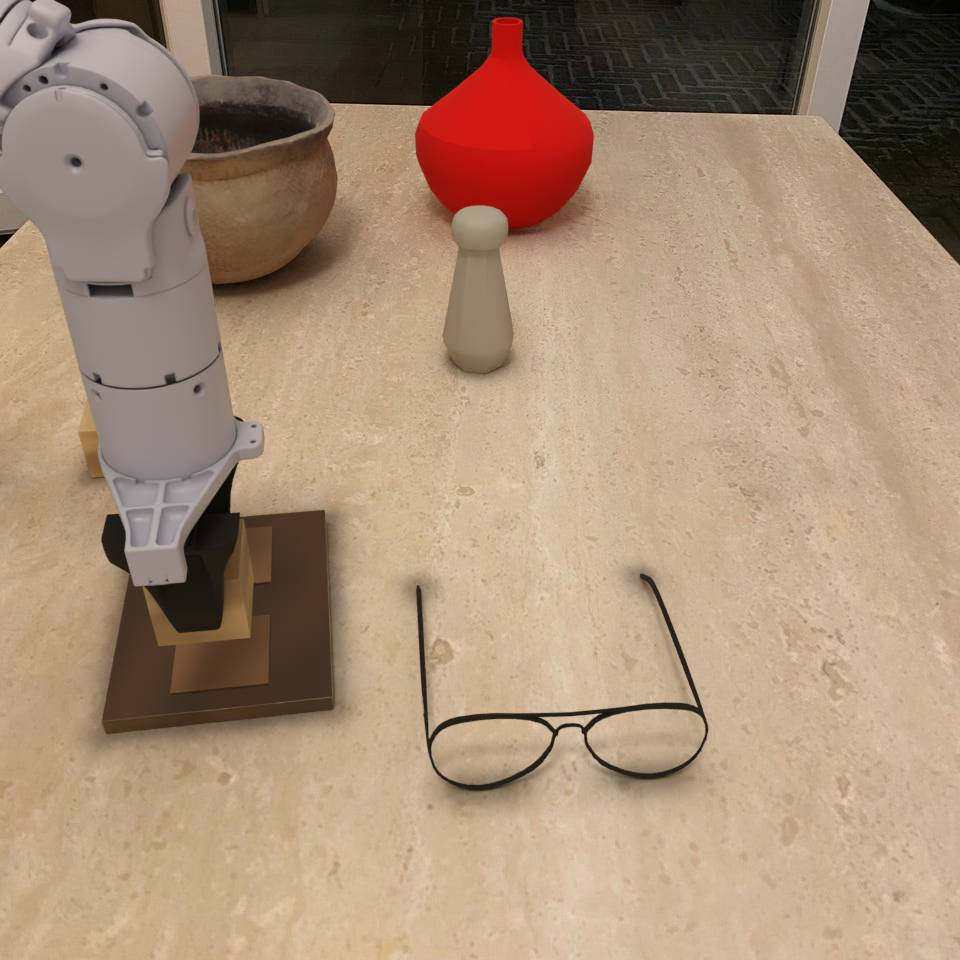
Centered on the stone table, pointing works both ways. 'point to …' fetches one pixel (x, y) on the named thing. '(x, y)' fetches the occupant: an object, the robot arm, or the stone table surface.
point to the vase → (505, 138)
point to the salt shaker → (478, 292)
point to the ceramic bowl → (259, 172)
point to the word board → (236, 642)
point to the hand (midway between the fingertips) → (203, 590)
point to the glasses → (535, 716)
